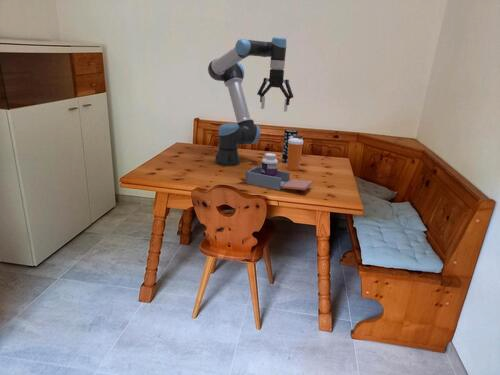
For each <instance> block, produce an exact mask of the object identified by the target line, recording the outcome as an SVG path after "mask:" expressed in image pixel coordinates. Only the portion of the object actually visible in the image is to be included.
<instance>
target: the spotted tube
mask: <svg viewBox="0 0 500 375" xmlns="http://www.w3.org/2000/svg"><path fill="white" fill-rule="evenodd" d="M298 134H299V131H298V130H296V129H285V130H284V134H283V146H282V156H281V157H282V158H281V162H282V163H284V164H287V162H288V140H289V138H290V136H291V135H294V136H299V135H298Z"/></svg>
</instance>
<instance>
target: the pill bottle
mask: <svg viewBox="0 0 500 375" xmlns="http://www.w3.org/2000/svg"><path fill="white" fill-rule="evenodd" d="M276 157H277V154H276V153H271V152H268V153H264V157H263V158H262V160H261V167H262V169H261V174H263V175H268V176H273V177H277V170H278V164H279V161H278V159H277V158H276Z"/></svg>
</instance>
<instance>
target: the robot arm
mask: <svg viewBox="0 0 500 375" xmlns="http://www.w3.org/2000/svg"><path fill="white" fill-rule="evenodd" d="M286 53H287V38H286V37H281V36H274V37H272V38H271V41H260V40H252V39H245V38H244V39H243V38H242V39H237V41H236V43H235V47H233V48H231V49H230V50H229V51H228V52H226V53H225V54H223V55H221V56H220V57H218V58H215V59H213V60H211V61H210V62H209V64H208V65H207V72H208V74H209V77H210V78H211V79H213V80H215V81H219V82H223V83H224V86H225V87H227V89H228V92H229V96H230V100H231V104H232V108H233V112H234V116H235V118H236V123H234V122H233V123H232V122H229V123H223V124H221V125H220V126H219V128H218V133H217V135H218V150H217V153H216V155H215V159H214V161H215V164H216V165H221V166H226V167H228V166H230V167H231V166H232V167H233V166H238V165H240V164H241V163H240V162H241V159H240V154H239V151H238V147H239V146H241V145H244V146H245V145H252V144H256V143H257V142H258V141H259V140H260V137H261V129H260V126H259V125H258V124H255V121H254V119H252V118H251V116H250V112H249V108H248V105H247V101H246V97H245V93H244V90H243V86H242V83H243V80H244V78H245V68H244V66H243V65H242V64H241V63H240V62H241V61H242V60H244V59H245V58H248V57H249V56H252V57H260V58H270V66H269V67H270V69H269V78H267V77H264V78H263V81H262V83H261V85H260V88H259V89H258V91H257V96H259V97H260V98H259V99H260V100H259V102H260V103H261V106H260V109H261V110H263V109H265V105H266V104H265V102H266V96H265V95H266V94H267V93H268V92H269V91H270V89H271V88H275V89H276V88H278V89H280V91H281V92H282V93H283V95H284V97H285V98H284V106H283V112H288V106H290V103H291V102H290V99H293V98H294V94H293V90H292V89H291V88H292V87H291V86H290V85H291V84H290V79H284V75H285V70H284V69H285V65H286ZM268 83H269V84H268ZM267 84H268V85H267ZM284 84H285V87H286V89H285V87H284ZM266 85H267V86H266Z"/></svg>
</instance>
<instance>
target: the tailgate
mask: <svg viewBox="0 0 500 375" xmlns="http://www.w3.org/2000/svg"><path fill="white" fill-rule="evenodd" d="M312 184H314V181H313V180H304V179H303V180H302V179H294V178H293V179H292V178H289V181H287V182H286V183H284V184H283V185H282V186H280V188H282V189H289V190H300V191H306V190H307V189H308V188H310V186H312Z"/></svg>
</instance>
